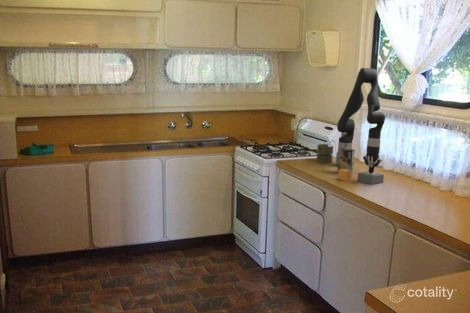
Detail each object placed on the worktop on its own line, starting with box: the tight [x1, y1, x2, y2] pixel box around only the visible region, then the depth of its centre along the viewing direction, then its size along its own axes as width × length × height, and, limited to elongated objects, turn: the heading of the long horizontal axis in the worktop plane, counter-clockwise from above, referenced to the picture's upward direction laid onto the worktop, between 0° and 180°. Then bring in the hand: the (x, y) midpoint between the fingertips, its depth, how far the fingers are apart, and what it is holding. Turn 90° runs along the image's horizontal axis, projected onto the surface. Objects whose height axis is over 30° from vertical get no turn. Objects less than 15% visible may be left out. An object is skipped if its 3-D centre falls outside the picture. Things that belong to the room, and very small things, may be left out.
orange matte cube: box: [337, 169, 352, 182], centre depth 301 cm, size 6×6×6 cm
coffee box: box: [337, 148, 355, 176], centre depth 317 cm, size 9×6×16 cm
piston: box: [316, 143, 334, 164], centre depth 353 cm, size 11×12×11 cm
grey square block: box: [356, 170, 385, 186], centre depth 298 cm, size 11×11×6 cm
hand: (371, 172), depth 297 cm, fingers closed
